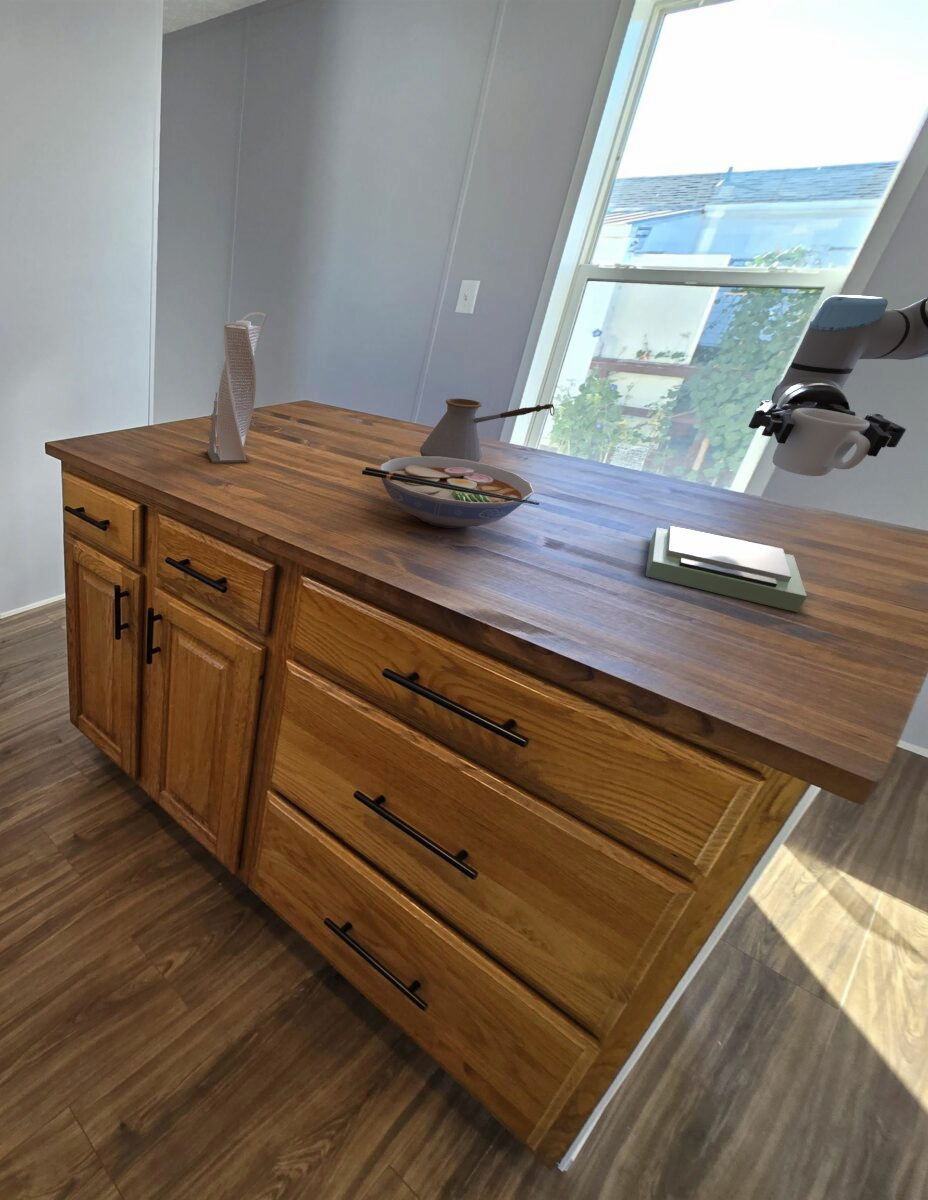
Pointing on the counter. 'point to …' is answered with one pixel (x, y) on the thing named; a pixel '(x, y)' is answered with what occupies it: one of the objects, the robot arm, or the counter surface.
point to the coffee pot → (464, 430)
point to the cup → (821, 442)
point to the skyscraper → (235, 392)
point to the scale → (726, 567)
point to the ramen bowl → (452, 490)
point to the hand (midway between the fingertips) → (830, 439)
